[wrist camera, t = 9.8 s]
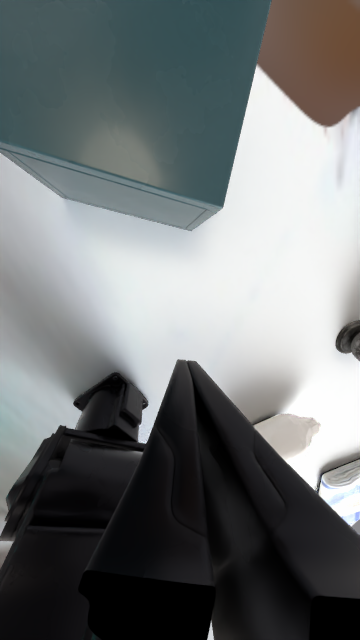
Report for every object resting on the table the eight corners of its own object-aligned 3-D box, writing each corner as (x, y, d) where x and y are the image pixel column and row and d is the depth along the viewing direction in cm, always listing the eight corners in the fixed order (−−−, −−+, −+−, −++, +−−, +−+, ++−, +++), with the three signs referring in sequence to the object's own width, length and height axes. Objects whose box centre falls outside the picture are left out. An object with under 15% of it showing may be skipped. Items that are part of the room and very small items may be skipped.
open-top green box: (60, 50, 12) (-50, -210, 5) (213, 116, 14) (267, -4, 8) (61, 197, 14) (-11, 145, 8) (191, 231, 17) (217, 212, 10)
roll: (302, 419, 29) (335, 453, 24) (239, 447, 29) (259, 488, 24) (299, 394, 27) (335, 426, 22) (231, 425, 27) (251, 464, 22)
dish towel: (387, 446, 38) (404, 460, 35) (367, 502, 46) (380, 517, 44) (318, 472, 36) (331, 488, 34) (310, 525, 45) (320, 541, 42)
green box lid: (-54, -247, 5) (-89, -336, 4) (271, -24, 8) (285, -55, 7) (-12, 144, 8) (-29, 132, 7) (217, 212, 10) (223, 208, 9)
